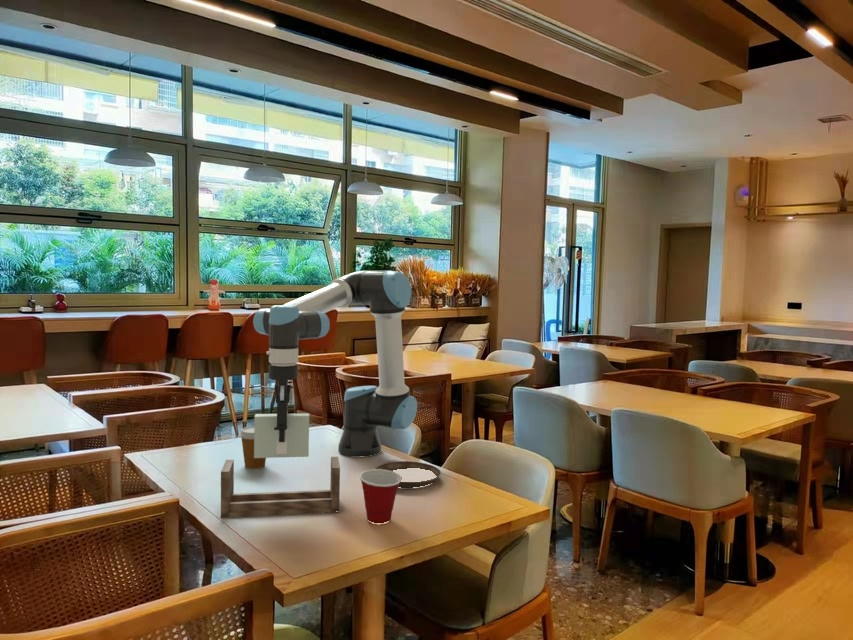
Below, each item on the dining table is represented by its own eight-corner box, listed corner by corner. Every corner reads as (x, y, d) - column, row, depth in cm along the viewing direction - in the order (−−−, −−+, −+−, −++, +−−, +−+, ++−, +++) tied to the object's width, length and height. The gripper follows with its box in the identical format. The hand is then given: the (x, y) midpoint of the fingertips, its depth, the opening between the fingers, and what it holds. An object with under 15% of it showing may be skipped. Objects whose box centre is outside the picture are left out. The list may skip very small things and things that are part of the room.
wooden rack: (337, 498, 171) (338, 456, 171) (339, 512, 162) (340, 467, 161) (225, 503, 166) (226, 459, 165) (220, 517, 156) (220, 471, 155)
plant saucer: (421, 467, 202) (422, 457, 202) (453, 487, 184) (453, 476, 184) (363, 475, 193) (363, 464, 192) (390, 497, 174) (390, 485, 174)
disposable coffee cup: (265, 470, 193) (265, 433, 192) (235, 469, 193) (235, 432, 192) (273, 461, 203) (273, 426, 202) (245, 460, 203) (245, 425, 202)
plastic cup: (384, 533, 149) (385, 485, 148) (349, 522, 155) (350, 476, 154) (409, 519, 158) (410, 473, 158) (375, 509, 164) (376, 466, 163)
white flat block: (308, 453, 165) (309, 413, 164) (308, 456, 162) (309, 415, 162) (255, 454, 163) (255, 414, 162) (254, 458, 160) (254, 416, 159)
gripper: (270, 359, 168) (269, 443, 170) (266, 368, 152) (265, 460, 154) (298, 359, 169) (296, 442, 171) (297, 368, 154) (295, 460, 155)
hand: (282, 451), depth 162 cm, fingers closed on white flat block, 3 cm apart
